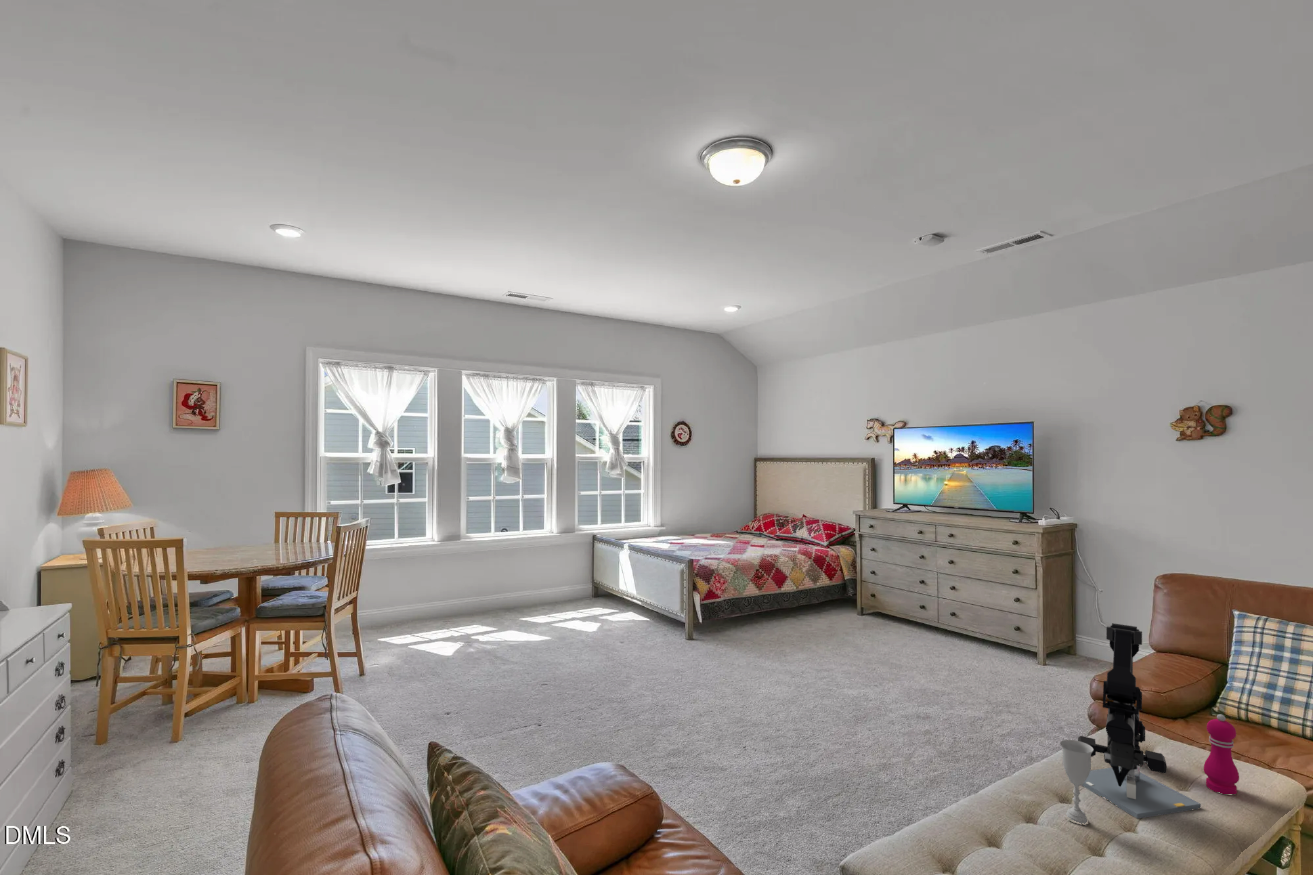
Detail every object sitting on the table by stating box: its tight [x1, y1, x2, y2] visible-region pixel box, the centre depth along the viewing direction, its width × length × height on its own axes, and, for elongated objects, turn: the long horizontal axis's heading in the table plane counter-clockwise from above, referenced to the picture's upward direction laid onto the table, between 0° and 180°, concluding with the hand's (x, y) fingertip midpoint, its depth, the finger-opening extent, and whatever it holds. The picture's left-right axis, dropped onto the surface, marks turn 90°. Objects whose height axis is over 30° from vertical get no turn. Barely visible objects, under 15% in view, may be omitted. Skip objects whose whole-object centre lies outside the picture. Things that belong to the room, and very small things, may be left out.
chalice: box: [1059, 739, 1093, 824], centre depth 160 cm, size 7×7×18 cm
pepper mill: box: [1203, 714, 1240, 795], centre depth 174 cm, size 7×7×20 cm
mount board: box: [1081, 766, 1202, 820], centre depth 173 cm, size 20×20×1 cm
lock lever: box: [1125, 765, 1141, 799], centre depth 173 cm, size 15×4×4 cm, turn 145°
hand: (1119, 785), depth 171 cm, fingers closed
